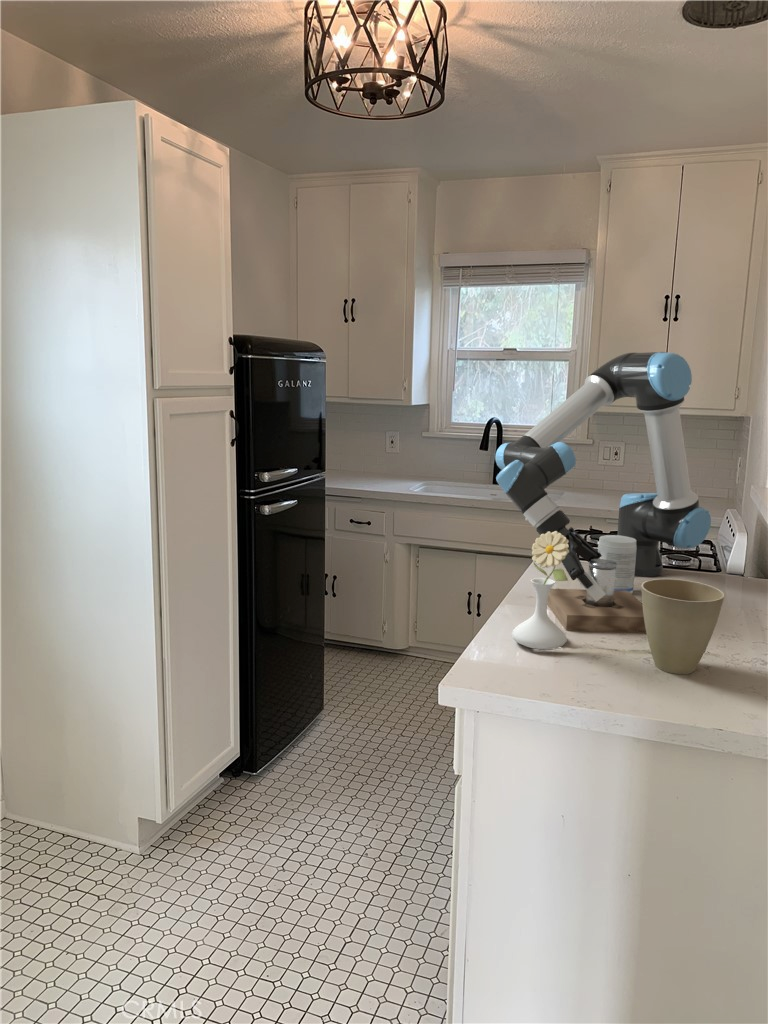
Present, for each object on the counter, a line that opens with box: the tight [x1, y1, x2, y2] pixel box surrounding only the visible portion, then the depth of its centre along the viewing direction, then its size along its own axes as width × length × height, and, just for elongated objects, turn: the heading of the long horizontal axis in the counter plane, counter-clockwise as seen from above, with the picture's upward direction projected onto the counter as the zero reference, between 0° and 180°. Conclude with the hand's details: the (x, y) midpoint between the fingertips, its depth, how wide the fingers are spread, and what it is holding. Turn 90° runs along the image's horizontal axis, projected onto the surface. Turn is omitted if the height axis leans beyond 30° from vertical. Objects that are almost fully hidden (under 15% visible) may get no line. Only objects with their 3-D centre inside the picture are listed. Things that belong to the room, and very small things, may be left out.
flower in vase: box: [511, 531, 569, 650], centre depth 152 cm, size 13×11×25 cm
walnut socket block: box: [547, 588, 647, 634], centre depth 171 cm, size 20×20×4 cm
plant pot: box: [641, 578, 725, 675], centre depth 144 cm, size 15×15×16 cm
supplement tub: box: [597, 534, 637, 594], centre depth 193 cm, size 10×10×15 cm
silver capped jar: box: [586, 559, 616, 607], centre depth 170 cm, size 6×6×13 cm
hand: (607, 590), depth 169 cm, fingers open, 13 cm apart
